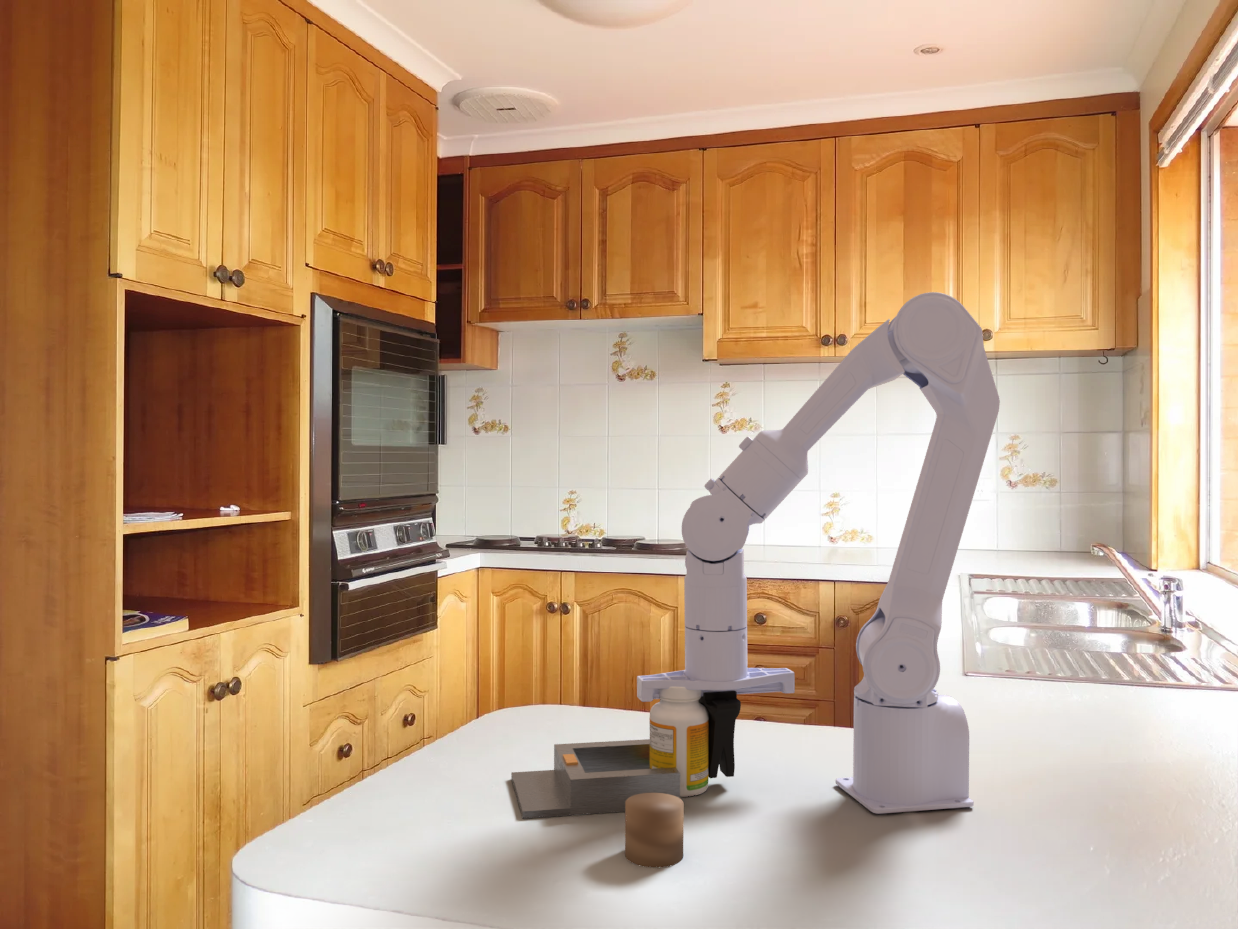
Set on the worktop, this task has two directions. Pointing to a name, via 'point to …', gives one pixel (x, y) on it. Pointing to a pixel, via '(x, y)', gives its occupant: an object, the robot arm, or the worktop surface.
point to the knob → (654, 829)
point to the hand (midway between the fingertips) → (716, 774)
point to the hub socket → (592, 779)
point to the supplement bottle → (681, 738)
